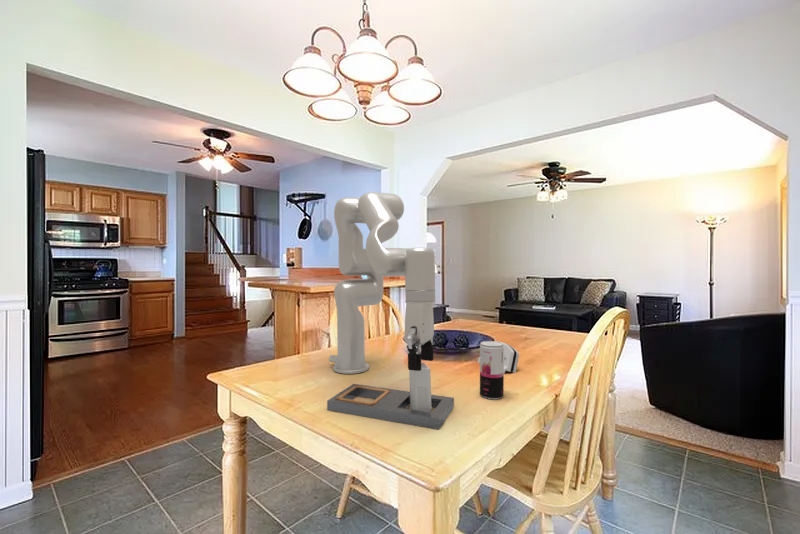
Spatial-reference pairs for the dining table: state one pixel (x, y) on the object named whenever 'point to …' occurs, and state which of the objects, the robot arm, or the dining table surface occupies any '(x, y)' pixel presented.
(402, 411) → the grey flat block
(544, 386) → the dining table surface
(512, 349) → the white curved block
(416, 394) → the skincare box
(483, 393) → the beverage can
